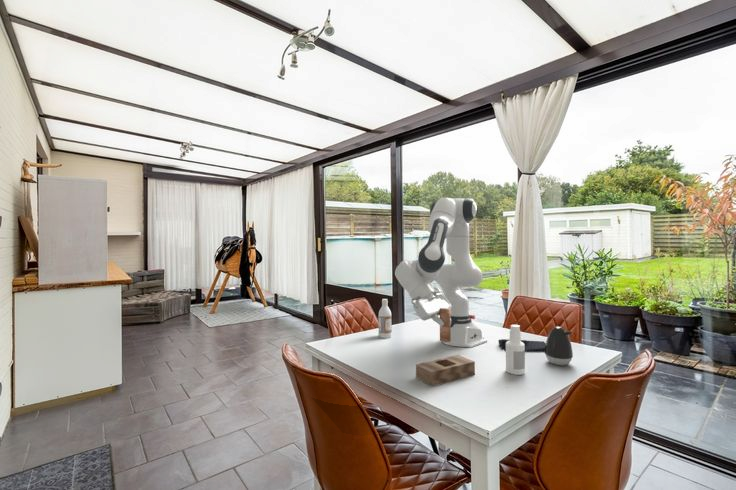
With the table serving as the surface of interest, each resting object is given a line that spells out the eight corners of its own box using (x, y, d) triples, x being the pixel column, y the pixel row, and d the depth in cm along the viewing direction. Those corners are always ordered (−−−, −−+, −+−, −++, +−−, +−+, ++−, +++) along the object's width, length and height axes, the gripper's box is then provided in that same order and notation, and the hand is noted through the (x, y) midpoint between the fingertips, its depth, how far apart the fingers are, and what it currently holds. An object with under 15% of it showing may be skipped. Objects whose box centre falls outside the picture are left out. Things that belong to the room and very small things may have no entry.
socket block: (458, 367, 141) (457, 354, 141) (474, 374, 134) (474, 361, 133) (416, 377, 131) (415, 364, 131) (431, 386, 123) (431, 372, 123)
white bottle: (523, 376, 131) (523, 328, 131) (504, 373, 135) (504, 326, 135) (526, 370, 137) (525, 324, 137) (507, 367, 141) (507, 322, 140)
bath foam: (383, 339, 182) (383, 300, 182) (376, 336, 188) (375, 299, 188) (394, 337, 186) (393, 299, 186) (386, 334, 192) (386, 297, 192)
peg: (445, 338, 135) (445, 307, 135) (452, 341, 131) (452, 309, 131) (437, 339, 133) (437, 308, 133) (444, 342, 129) (444, 310, 129)
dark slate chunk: (554, 354, 157) (554, 344, 157) (503, 352, 160) (502, 342, 160) (542, 344, 172) (542, 334, 172) (495, 342, 175) (495, 333, 175)
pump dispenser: (564, 369, 137) (564, 331, 137) (539, 362, 146) (539, 325, 146) (578, 364, 143) (578, 327, 143) (553, 357, 152) (553, 322, 151)
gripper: (414, 293, 128) (439, 324, 122) (440, 287, 144) (463, 314, 138) (404, 304, 131) (427, 334, 125) (431, 297, 147) (452, 323, 141)
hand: (446, 323), depth 132 cm, fingers closed on peg, 4 cm apart
